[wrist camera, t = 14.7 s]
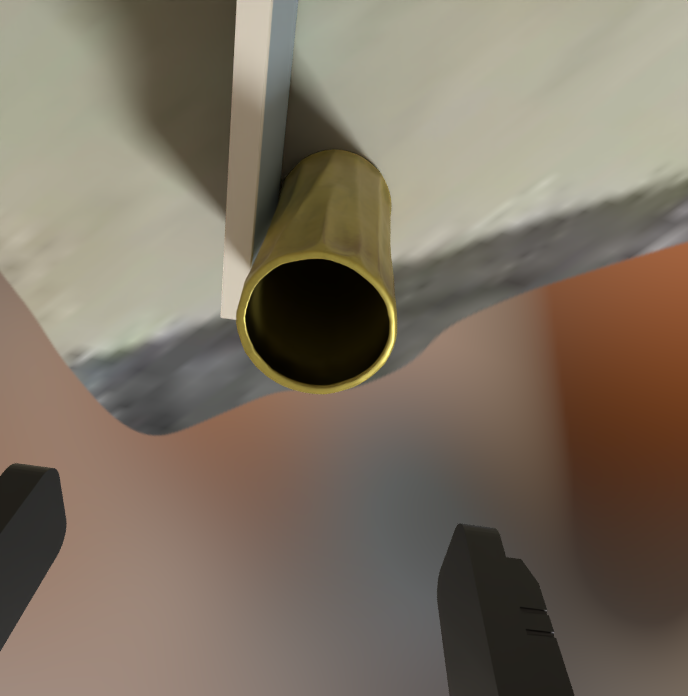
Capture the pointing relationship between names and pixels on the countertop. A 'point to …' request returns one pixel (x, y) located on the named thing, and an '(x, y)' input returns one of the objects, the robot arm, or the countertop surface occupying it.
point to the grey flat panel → (255, 134)
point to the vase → (323, 279)
